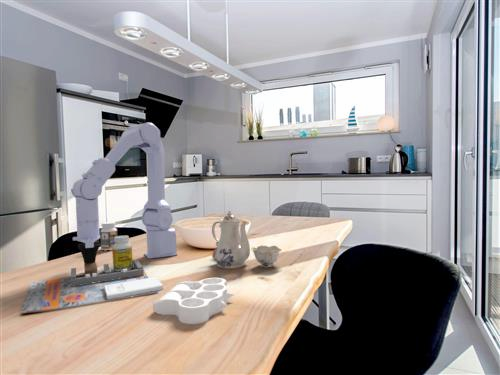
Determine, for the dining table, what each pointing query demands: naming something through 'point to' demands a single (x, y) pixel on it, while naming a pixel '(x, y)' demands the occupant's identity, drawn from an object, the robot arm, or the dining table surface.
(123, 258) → the supplement bottle
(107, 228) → the pill bottle
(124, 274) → the slot rack
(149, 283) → the external hard drive
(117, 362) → the dining table surface
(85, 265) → the walnut bar
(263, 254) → the chinaware
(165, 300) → the white egg tray
